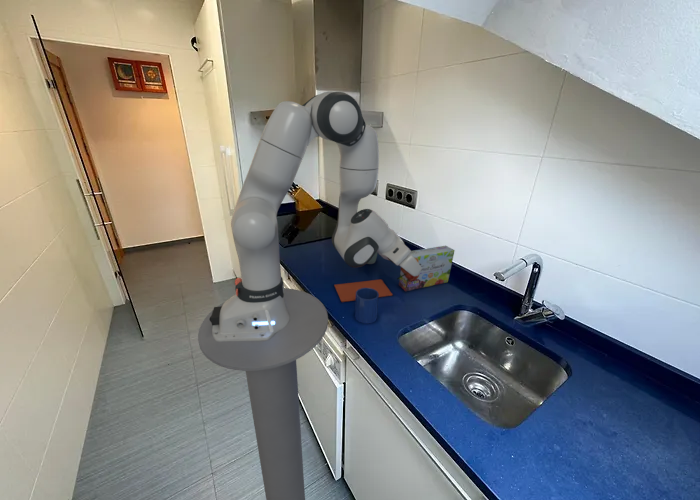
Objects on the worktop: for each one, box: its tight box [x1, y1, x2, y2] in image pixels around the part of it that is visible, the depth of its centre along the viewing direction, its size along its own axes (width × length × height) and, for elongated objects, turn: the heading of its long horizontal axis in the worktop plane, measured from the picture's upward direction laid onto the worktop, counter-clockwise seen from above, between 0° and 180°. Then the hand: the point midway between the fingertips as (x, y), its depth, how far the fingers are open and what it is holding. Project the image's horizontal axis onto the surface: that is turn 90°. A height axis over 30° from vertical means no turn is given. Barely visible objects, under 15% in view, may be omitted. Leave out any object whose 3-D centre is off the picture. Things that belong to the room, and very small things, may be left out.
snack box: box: [398, 245, 456, 292], centre depth 113 cm, size 21×6×15 cm, turn 114°
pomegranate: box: [396, 264, 421, 282], centre depth 102 cm, size 7×7×10 cm
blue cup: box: [354, 288, 380, 324], centre depth 94 cm, size 7×7×9 cm
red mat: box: [333, 279, 393, 303], centre depth 111 cm, size 20×12×1 cm, turn 105°
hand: (411, 268), depth 102 cm, fingers closed on pomegranate, 7 cm apart
